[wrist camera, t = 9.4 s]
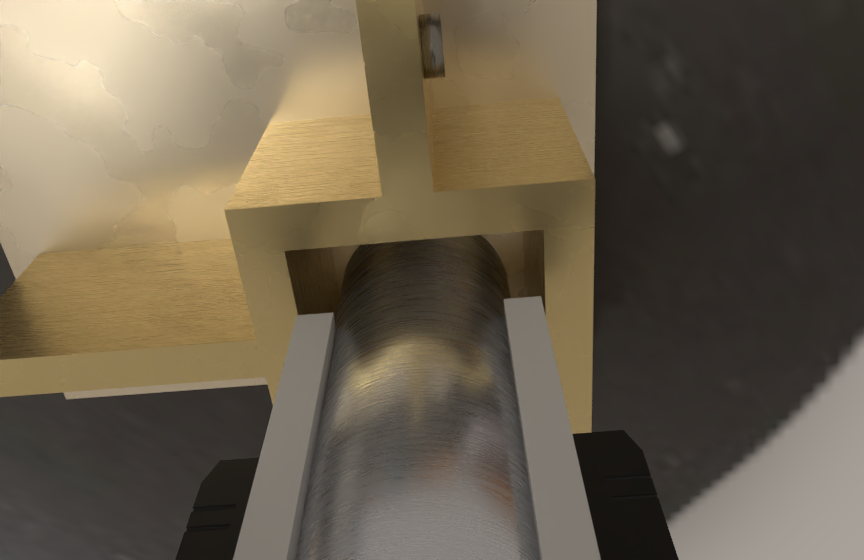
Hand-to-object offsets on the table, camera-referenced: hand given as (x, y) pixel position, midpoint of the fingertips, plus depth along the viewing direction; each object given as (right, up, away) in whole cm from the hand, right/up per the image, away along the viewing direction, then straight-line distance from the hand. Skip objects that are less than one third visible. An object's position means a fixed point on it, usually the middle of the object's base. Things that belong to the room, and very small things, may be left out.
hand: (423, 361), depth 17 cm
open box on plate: (-4, +6, +4) cm, 8 cm away
